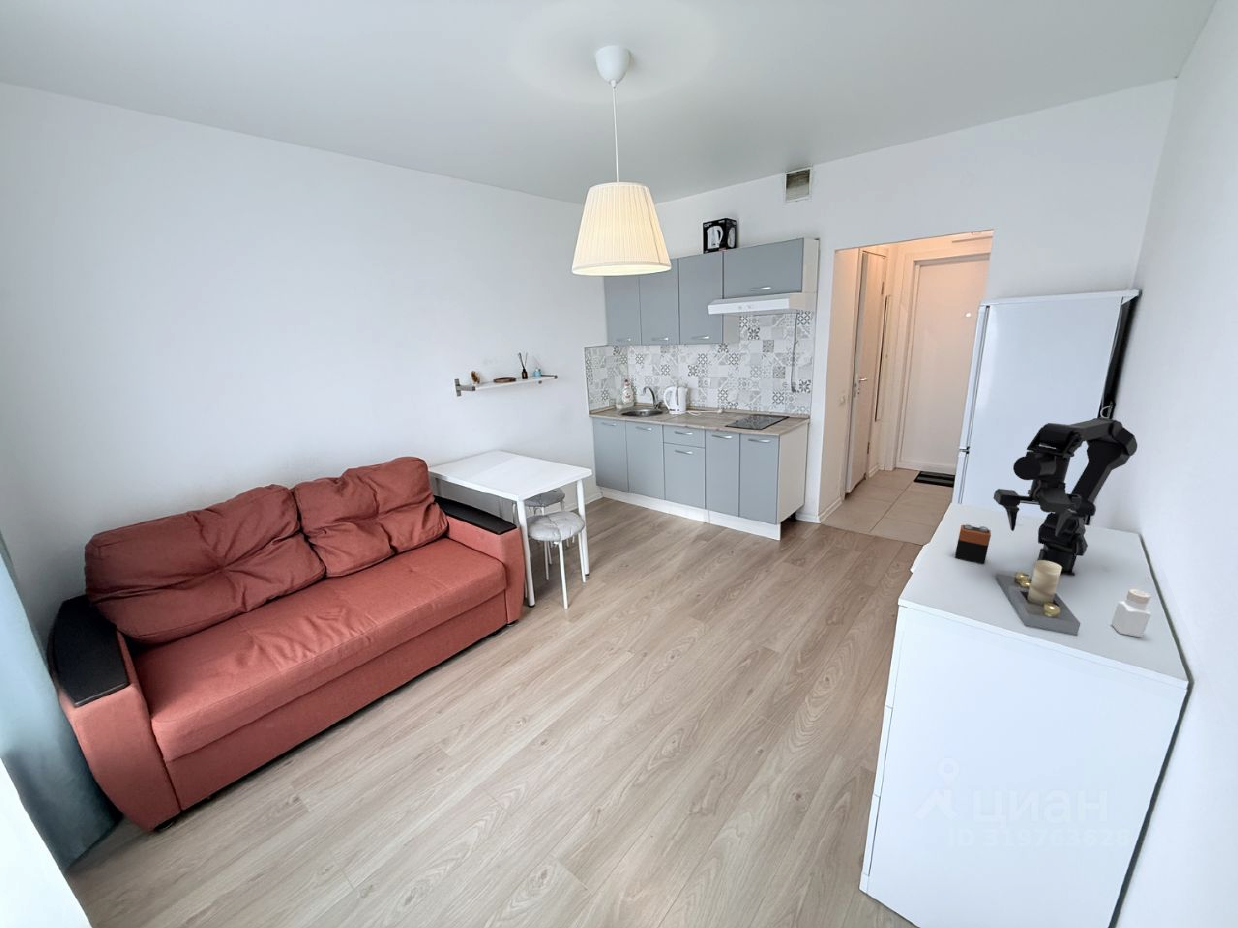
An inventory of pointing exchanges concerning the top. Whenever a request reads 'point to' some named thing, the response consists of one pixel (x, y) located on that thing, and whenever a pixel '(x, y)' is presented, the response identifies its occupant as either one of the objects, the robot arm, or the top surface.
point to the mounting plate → (1037, 606)
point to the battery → (973, 543)
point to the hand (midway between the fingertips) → (1034, 533)
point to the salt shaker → (1132, 614)
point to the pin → (1044, 583)
